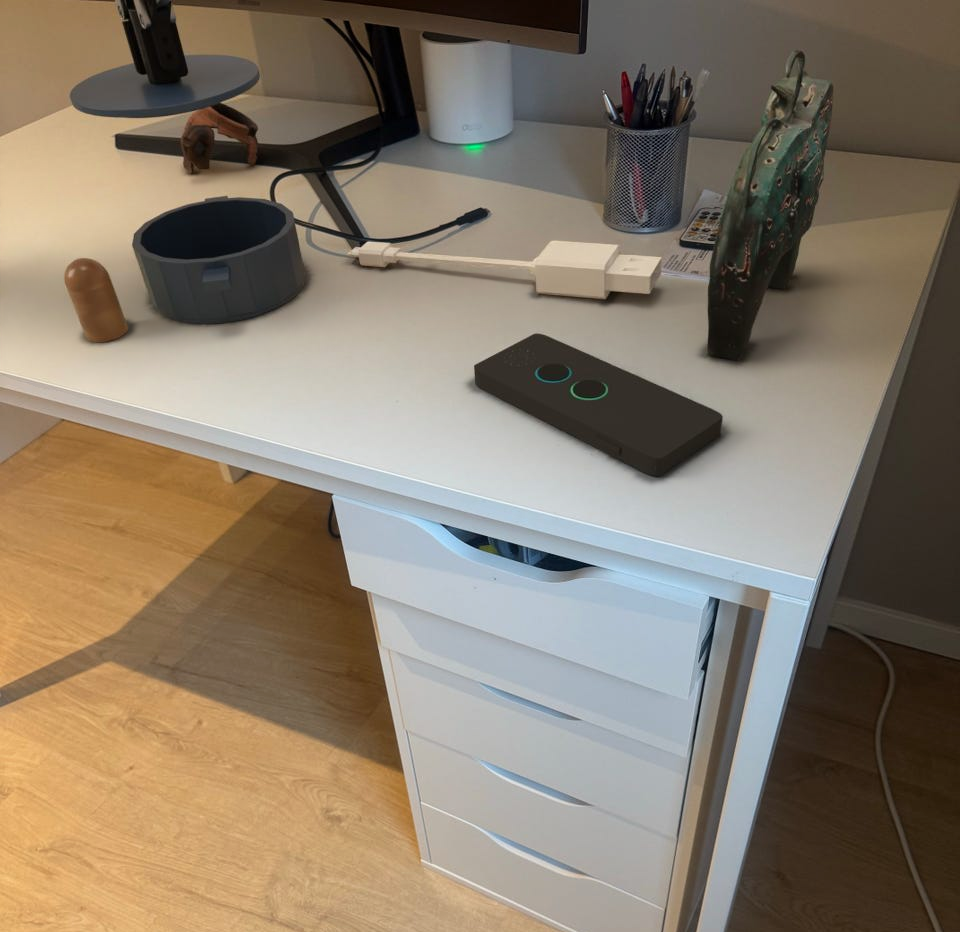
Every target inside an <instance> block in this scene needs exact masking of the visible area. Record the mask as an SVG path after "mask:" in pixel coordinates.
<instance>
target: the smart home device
mask: <svg viewBox="0 0 960 932" xmlns="http://www.w3.org/2000/svg"><path fill="white" fill-rule="evenodd" d="M473 372H474V383H475V385H476V386H477V387H478V388H480V389H481V390H484V391H485V392H487V393H489V394H491V395H493V396H495V397H496V398H498V399H500V400H502V401H505V402H507V403H509V404H510V405H512V406H514V407H516V408H518V409H520V410H522V411H524V412H526V413H528V414H530V415H531V416H533V417H536V418H537V419H539V420H542V421H543V422H545V423H547V424H549V425H550V426H553V427H555V428H557V429H559V430H560V431H563V432H564V433H567V434H569V435H570V436H572V437H574V438H576V439H579V440H580V441H582V442H584V443H586V444H588V445H590V446H592V447H594V448H596V449H597V450H599V451H602V452H603V453H605V454H607V455H608V456H611V457H613V458H614V459H617V460H619V461H621V462H622V463H624V464H627V465H628V466H631V467H633V468H634V469H636V470H638V471H640V472H642V473H644V474H647V475H649V476H652V477H661V476H663V475H664V474H665V473H667V472H668V471H669V470H671V469H673V468H674V467H676V466H677V465H679V464H680V463H682V462H683V461H684V460H686V459H687V458H689V457H690V456H692V455H693V454H694V453H696V452H697V451H699V450H701V449H702V448H704V447H705V446H706V445H708V444H709V443H711V442H712V441H714V440H716V439H717V438H719V436H721V431H722V426H723V425H722V424H723V420H724V419H723V418H724V416H723V414H722V413H720V412H719V411H717V410H715V409H713V408H711V407H708V406H706V405H704V404H702V403H700V402H697V401H695V400H693V399H691V398H688V397H686V396H684V395H682V394H680V393H678V392H675V391H673V390H670V389H668V388H666V387H663V386H661V385H659V384H657V383H654V382H653V381H650V380H648V379H646V378H644V377H641V376H639V375H636V374H634V373H632V372H630V371H627V370H626V369H623V368H621V367H618V366H616V365H614V364H612V363H610V362H607V361H606V360H603V359H601V358H598V357H597V356H594V355H591V354H590V353H588V352H585V351H582V350H580V349H578V348H576V347H574V346H572V345H569V344H567V343H565V342H563V341H560V340H557V339H556V338H553V337H550V336H549V335H546V334H543V333H538V332H537V333H533V334H531V335H529V336H527V337H525V338H523V339H522V340H520V341H517V342H516V343H514V344H512V345H510V346H508V347H506V348H504V349H502V350H500V351H498V352H496V353H494V354H492V355H491V356H489V357H487V358H485V359H483V360H481V361H479V362H477V363H475V364H474V365H473Z"/></svg>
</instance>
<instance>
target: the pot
mask: <svg viewBox="0 0 960 932" xmlns="http://www.w3.org/2000/svg"><path fill="white" fill-rule="evenodd" d="M299 241H300V240H299V236H298V231H297V225H296V221H295V216H294V212H293V211H292V210H291V209H289V208H288V207H287V206H285V205H284V204H283V203H280V202H277V201H274V200H270V199H266V198H255V197H243V196H238V197H237V196H236V197H228V195H222V196H215V197H214V196H213V197H206V198H204V200H202V201H196V202H192V203H187V204H184V205H181V206H178V207H175V208H172V209H170V210H167V211H164V212H162V213H160V214H159V215H157V216H155V217H153V218H151V219H149V220H147V221H145V222H144V223H143V224H142V225H141V226H140V227H139V228H138V229H137V230H136V231H135V232H134V233H133V238H132V243H131V246H132V249H133V253H134V256H135V259H136V261H137V265H138V267H139V271H140V273H141V277H142V279H143V283H144V284H145V285H144V286H145V288H146V292H147V294H148V297H149V300H150V302H151V303H152V305H153V307H154V309H155V310H156V311H157V312H158V313H159V314H161V315H162V316H164V317H166V318H168V319H171V320H174V321H178V322H181V323H182V322H183V323H189V324H200V325H203V324H204V325H205V324H206V325H207V324H211V325H212V324H222V323H231V322H236V321H237V322H238V321H242V320H247V319H250V318H253V317H257V316H260V315H263V314H266V313H268V312H271V311H274V310H276V309H277V308H280V307H281V306H283V305H285V304H286V303H288V302H290V301H291V300H292V299H294V298H295V297H296V296H298V294H299V293H300V292H301V291H302V289H303V287H304V285H305V283H306V272H305V265H304V261H303V255H302V249H301V246H300V242H299Z"/></svg>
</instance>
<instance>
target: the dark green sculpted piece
mask: <svg viewBox="0 0 960 932" xmlns="http://www.w3.org/2000/svg"><path fill="white" fill-rule="evenodd" d="M795 62H796V69H795V72H794V74H793V76H791V72H792V70H793V66H794V64H795ZM805 63H806V55H805V53H804V51H802V50H799V49H794V50H793V51H791V53H790V55H789V57H788V58H787V60H786V65H785V76H786V77H783V78H782V79H781V80H779V81H778V82H777V84H770V89H771V90H772V91H771V93H770V95H769V97H768V100H767V101H766V104H765V107H764V110H763V115H762V117H761V124H760V125H761V126H760V129H759V130H758V131H757V133H756V135H755V136H754V138H753V140H752V141H751V142H750V144H749V146H748V147H747V148H746V150H745V152H744V154H743V155H742V156H741V159H740V161H739V163H738V165H737V168H736V171H735V174H734V176H733V179H732V182H731V184H730V187H729V189H728V192H727V195H726V199H725V202H724V206H723V209H722V213H721V215H720V219H719V223H718V227H717V231H716V234H715V239H714V244H713V245H714V246H713V249H712V253H711V257H710V261H709V280H708V287H707V308H706V309H707V310H706V311H707V322H708V323H707V325H708V327H707V329H708V330H707V333H708V334H707V343H706V344H707V345H706V346H707V347H706V348H707V349H706V350H707V351H706V352H707V355H708V356H710V357H715V358H721V359H728V360H732V361H739V360H740V359H741V358H742V357H743V356H744V354H745V352H746V350H747V347H748V346H749V342H750V340H751V336H752V330H753V327H754V324H755V321H756V319H757V317H758V314H759V312H760V310H761V306H762V304H763V301H764V299H765V295H766V293H767V290H768V289H777V290H783V291H784V290H785V289H786V287H787V285H788V282H789V280H790V278H791V277H792V276H793V274H794V271H795V268H796V264H797V260H798V257H799V253H800V252H799V251H800V245H801V241H802V238H803V237H804V235H805V234H806V233H807V232H808V231H810V228H811V226H812V223H813V220H814V215H815V210H816V205H817V204H818V202H819V196H820V188H821V186H822V184H823V181H824V176H825V172H824V170H825V169H824V167H825V164H824V163H825V156H826V150H827V144H828V139H829V134H830V129H831V123H832V118H833V117H832V115H833V102H834V85H833V83H832V82H831V81H829V80H826V79H819V78H818V79H817V78H811V77H810V76H809V74H808V72H807V70H806V69H805ZM790 76H791V77H790Z"/></svg>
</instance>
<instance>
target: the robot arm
mask: <svg viewBox="0 0 960 932" xmlns="http://www.w3.org/2000/svg"><path fill="white" fill-rule="evenodd" d="M172 1H173V0H114V2H115V6H116V9H117V12H118V15H119V17H120V20H122V21H121V24H122V28H123V31H124V33H125V37H126V40H127V44H128V49H129V51H130V54H131V57H132V61H133V63H134V65H135V68H136V71H137V72H138V73H139V74H141V75H146V74H147V73H146V70H145V66H144V63H143V59H142V56H141V52H140V49H139V45H138V42H137V38H136V35H135V32H134V28H133V25H132V21H131V18H130V14H129V11H128V8H129V7H131V6H133V5H135V7H136V10H137V13H138V16H139V20H140V23H141V25H142V27H141V28H138V31H139V35H140V38H141V42H142V45H143V49H144V52H145V56H146V59H147V63H148V66H149V70H150V73H151V77H152V79H153V80H154V81H155V82H158V83H160V82H164V81H168V80H172V79H176V78H181V77H185V76H187V75H188V68H187V64H186V60H185V56H184V55H185V53H184V49H183V44H182V41H181V37H180V33H179V30H178V26H177V16H176V12H175V9H174V6H173V2H172Z"/></svg>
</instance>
